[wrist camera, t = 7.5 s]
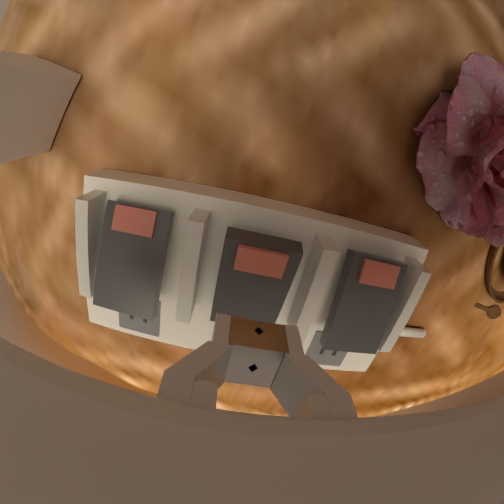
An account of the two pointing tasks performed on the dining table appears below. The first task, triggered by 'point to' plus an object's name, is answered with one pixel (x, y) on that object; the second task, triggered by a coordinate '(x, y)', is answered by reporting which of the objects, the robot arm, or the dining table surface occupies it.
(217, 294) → the rocker middle
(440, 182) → the flower
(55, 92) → the milk carton
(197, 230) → the power strip
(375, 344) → the rocker near arm
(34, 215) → the dining table surface
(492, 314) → the place setting
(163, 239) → the rocker far end
